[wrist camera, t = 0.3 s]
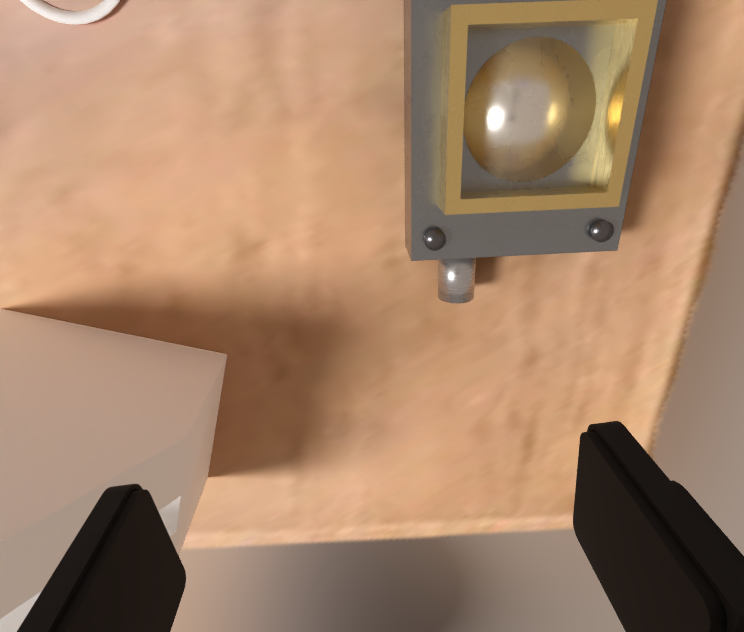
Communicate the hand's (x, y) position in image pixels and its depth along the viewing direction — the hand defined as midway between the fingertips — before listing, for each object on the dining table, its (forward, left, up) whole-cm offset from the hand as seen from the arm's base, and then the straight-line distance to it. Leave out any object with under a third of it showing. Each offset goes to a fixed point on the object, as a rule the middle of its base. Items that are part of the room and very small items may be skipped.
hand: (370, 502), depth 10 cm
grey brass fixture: (-4, +12, -30) cm, 33 cm away
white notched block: (+17, -24, -31) cm, 43 cm away
